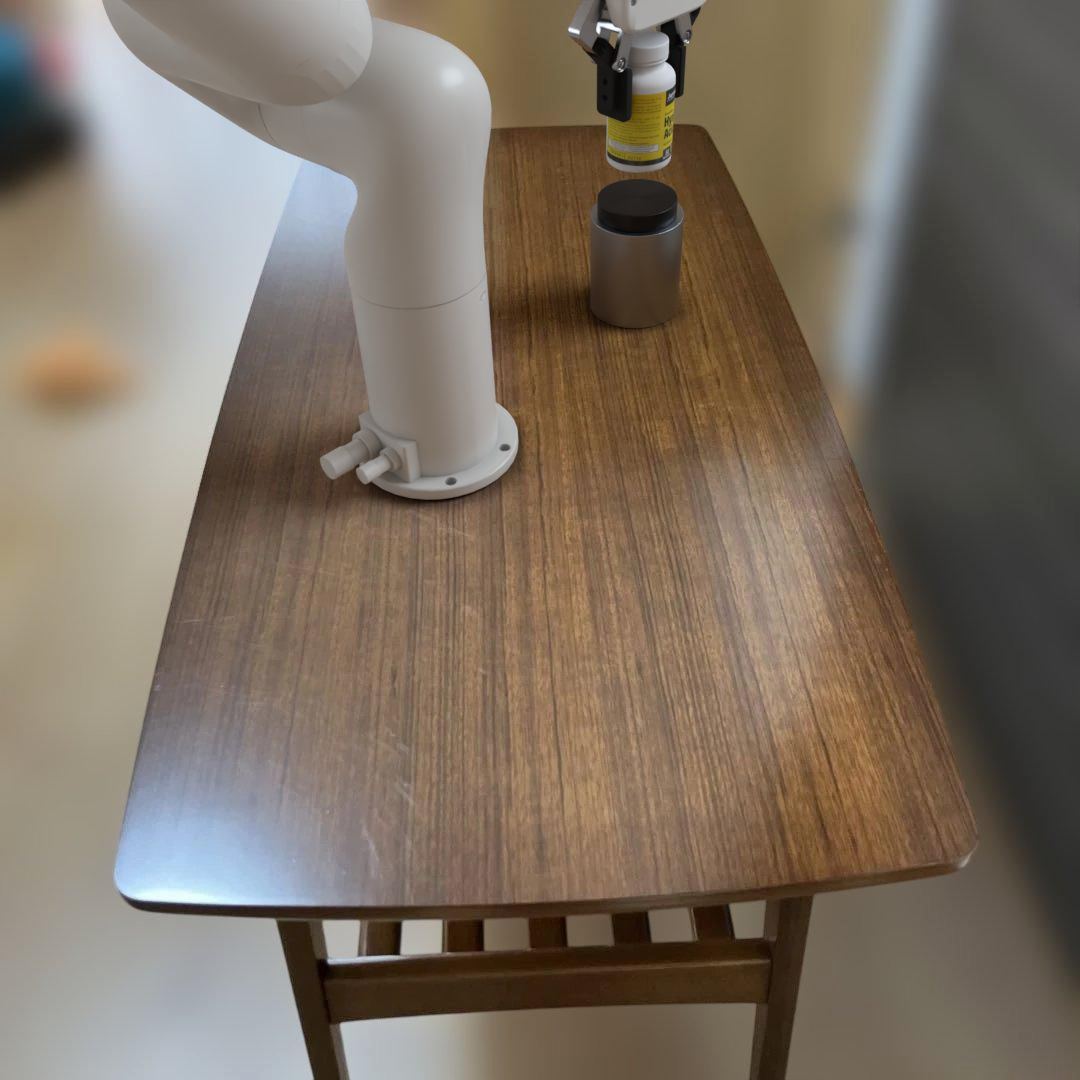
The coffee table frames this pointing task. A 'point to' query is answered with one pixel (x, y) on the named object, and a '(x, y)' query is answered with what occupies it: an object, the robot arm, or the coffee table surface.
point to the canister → (635, 253)
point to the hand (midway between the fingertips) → (640, 102)
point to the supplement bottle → (645, 109)
